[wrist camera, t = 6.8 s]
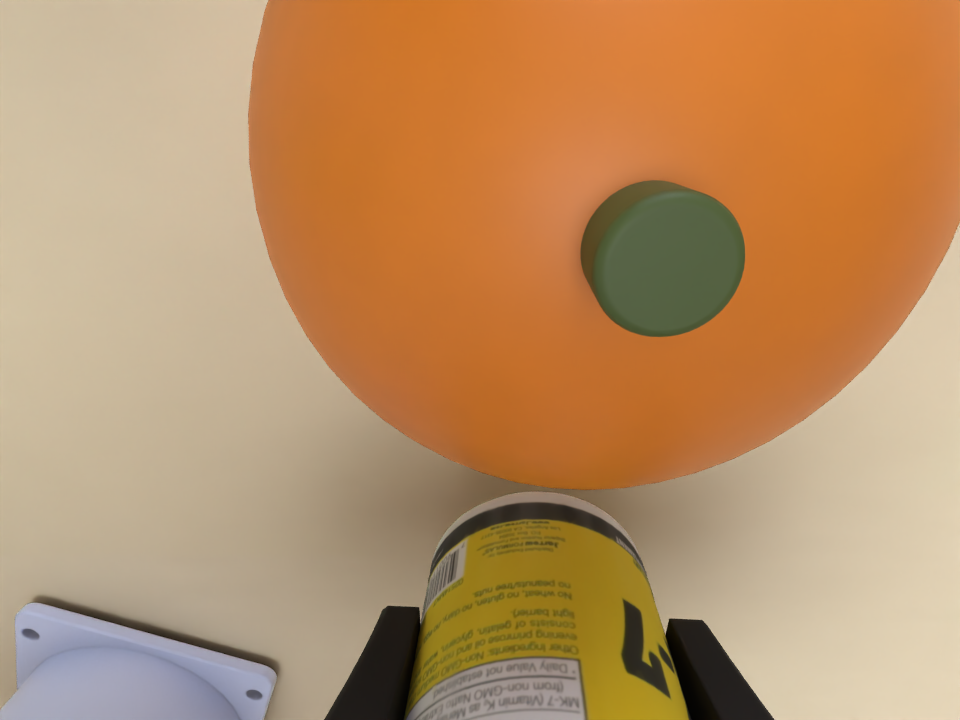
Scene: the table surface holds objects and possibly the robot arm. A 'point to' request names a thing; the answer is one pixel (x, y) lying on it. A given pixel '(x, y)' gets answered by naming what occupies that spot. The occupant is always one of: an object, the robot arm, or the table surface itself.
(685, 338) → the orange
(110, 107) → the table surface
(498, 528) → the supplement bottle
